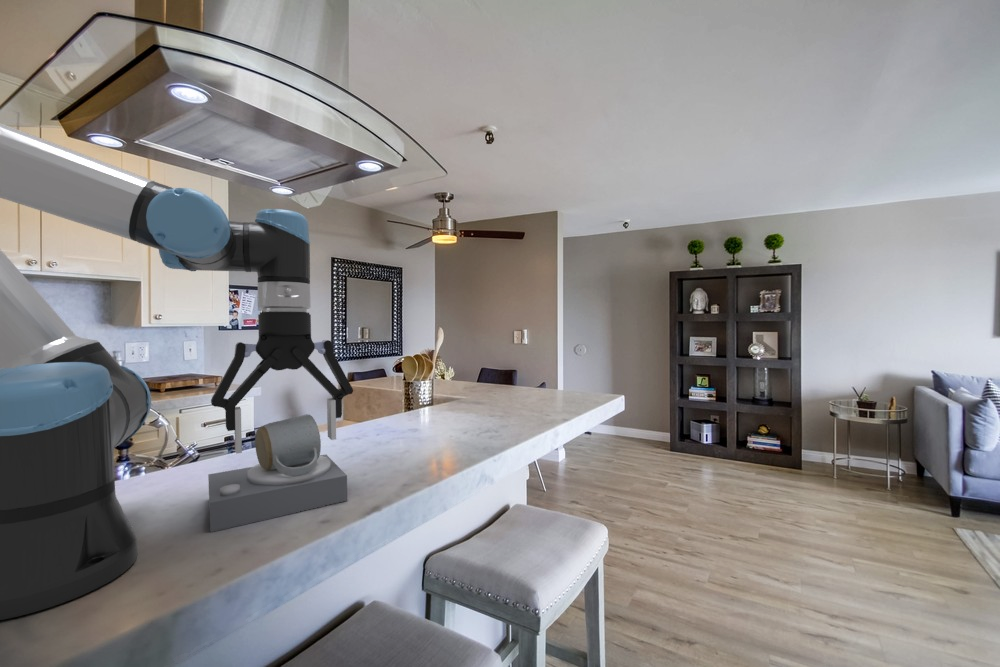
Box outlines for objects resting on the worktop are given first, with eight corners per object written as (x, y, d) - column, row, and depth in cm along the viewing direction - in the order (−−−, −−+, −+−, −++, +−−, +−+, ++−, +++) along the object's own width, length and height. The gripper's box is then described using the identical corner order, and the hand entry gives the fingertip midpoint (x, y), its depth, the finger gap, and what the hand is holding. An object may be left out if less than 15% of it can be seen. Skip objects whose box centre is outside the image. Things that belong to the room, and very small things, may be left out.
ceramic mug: (253, 466, 72) (251, 418, 72) (305, 455, 78) (304, 410, 78) (274, 483, 65) (273, 430, 64) (331, 470, 70) (329, 421, 70)
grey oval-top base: (210, 532, 61) (209, 495, 60) (209, 498, 73) (208, 467, 72) (347, 500, 71) (346, 469, 70) (326, 475, 82) (325, 448, 82)
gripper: (188, 309, 62) (192, 464, 62) (370, 310, 75) (372, 437, 76) (190, 310, 68) (193, 451, 68) (357, 312, 82) (359, 429, 82)
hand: (287, 444), depth 72 cm, fingers open, 13 cm apart
